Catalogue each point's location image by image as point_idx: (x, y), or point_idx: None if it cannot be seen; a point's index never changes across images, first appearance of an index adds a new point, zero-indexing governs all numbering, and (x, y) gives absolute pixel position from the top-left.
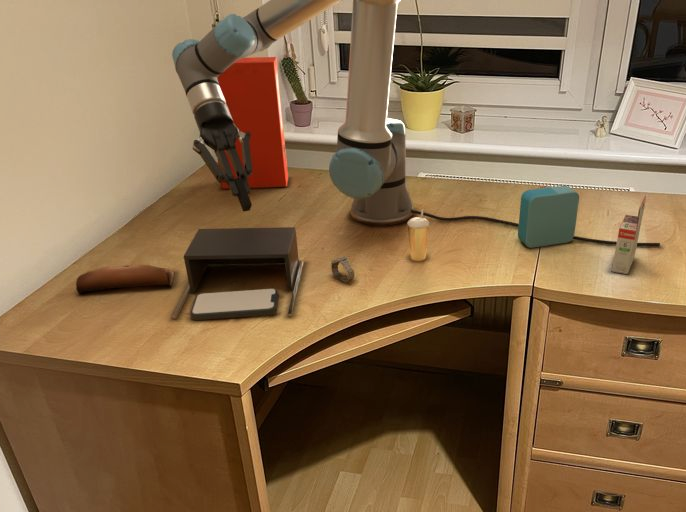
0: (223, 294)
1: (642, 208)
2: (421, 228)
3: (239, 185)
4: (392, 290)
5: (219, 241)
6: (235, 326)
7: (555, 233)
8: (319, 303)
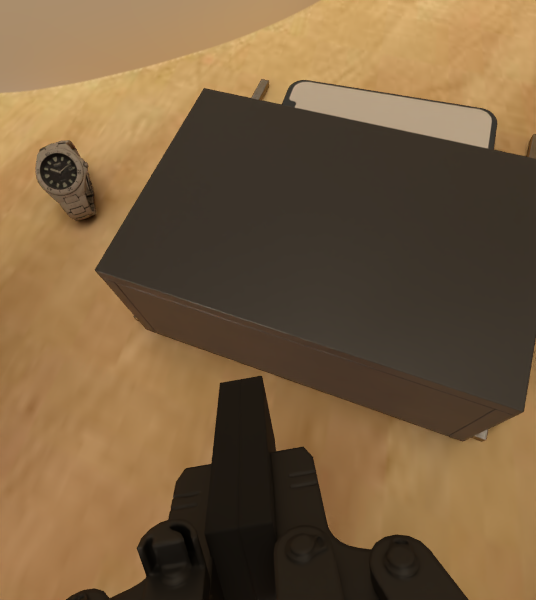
0: None
1: None
2: None
3: (252, 469)
4: (16, 122)
5: (420, 238)
6: (387, 83)
7: None
8: (186, 116)
